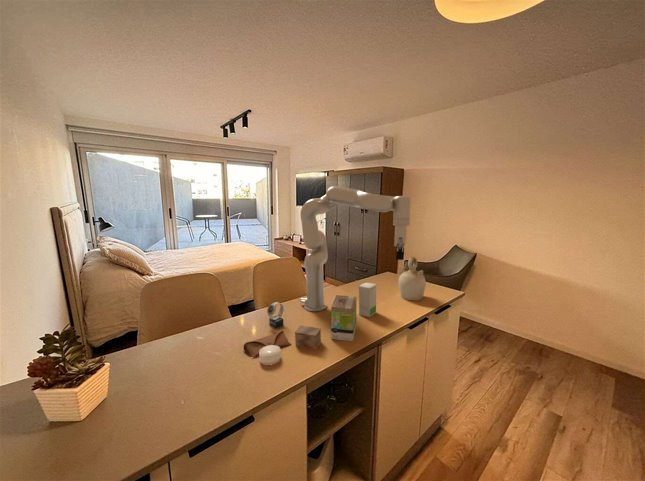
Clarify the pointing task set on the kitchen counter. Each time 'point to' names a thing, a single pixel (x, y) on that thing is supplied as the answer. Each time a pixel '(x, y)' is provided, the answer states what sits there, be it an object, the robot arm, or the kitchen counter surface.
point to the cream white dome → (270, 354)
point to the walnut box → (308, 337)
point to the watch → (275, 320)
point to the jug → (412, 282)
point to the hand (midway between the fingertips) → (400, 257)
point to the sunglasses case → (265, 343)
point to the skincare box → (367, 299)
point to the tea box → (343, 318)
